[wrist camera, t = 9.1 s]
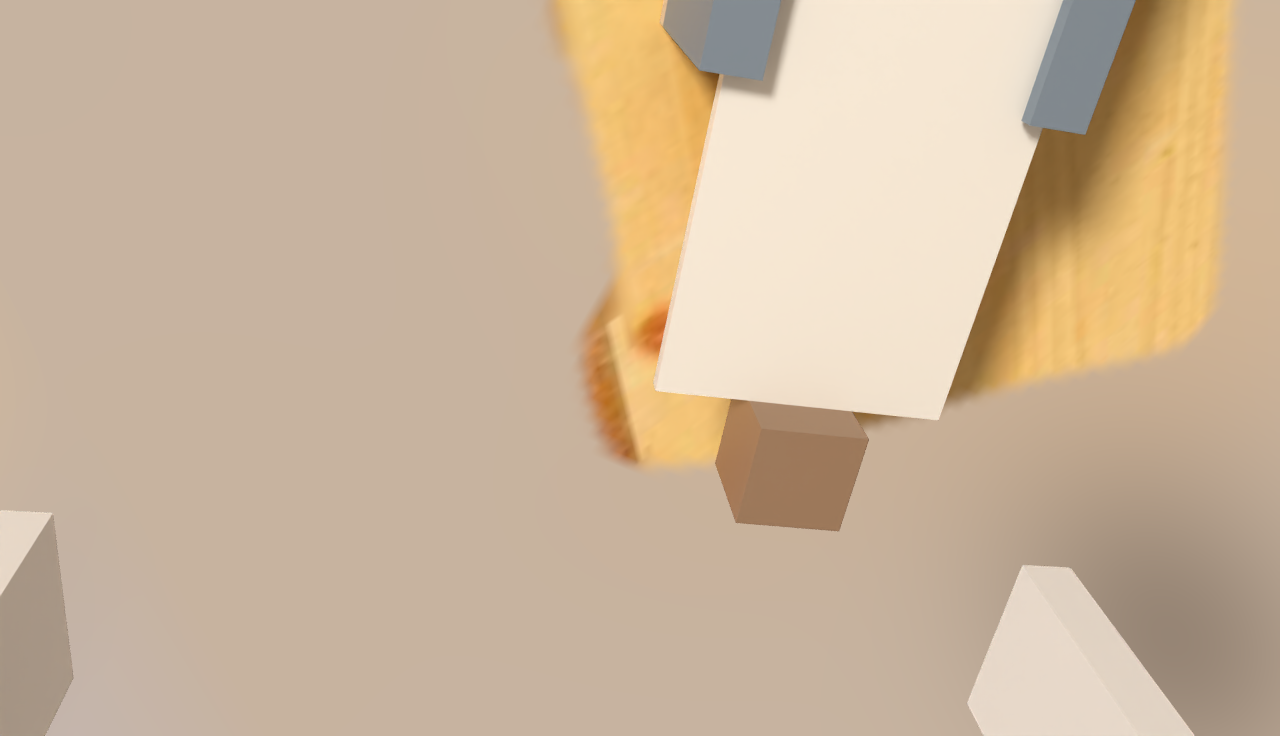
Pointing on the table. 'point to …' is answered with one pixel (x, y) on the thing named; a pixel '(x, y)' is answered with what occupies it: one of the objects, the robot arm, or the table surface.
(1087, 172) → the table surface
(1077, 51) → the grey open box
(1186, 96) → the table surface
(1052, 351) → the table surface
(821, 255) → the lid
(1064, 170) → the table surface
